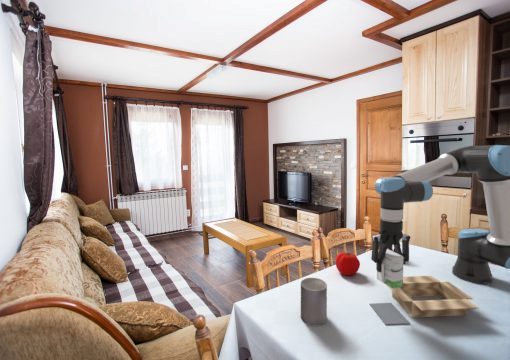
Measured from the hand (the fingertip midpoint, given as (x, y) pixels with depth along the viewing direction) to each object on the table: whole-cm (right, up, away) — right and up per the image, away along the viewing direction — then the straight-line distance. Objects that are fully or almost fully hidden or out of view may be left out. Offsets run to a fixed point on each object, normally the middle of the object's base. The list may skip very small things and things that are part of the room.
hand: (389, 279), depth 102 cm
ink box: (0, -2, 0) cm, 2 cm away
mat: (0, -14, +2) cm, 14 cm away
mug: (+26, -7, +54) cm, 61 cm away
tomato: (-4, -10, +36) cm, 37 cm away
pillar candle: (-29, -15, 0) cm, 32 cm away
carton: (+18, -13, +7) cm, 23 cm away
